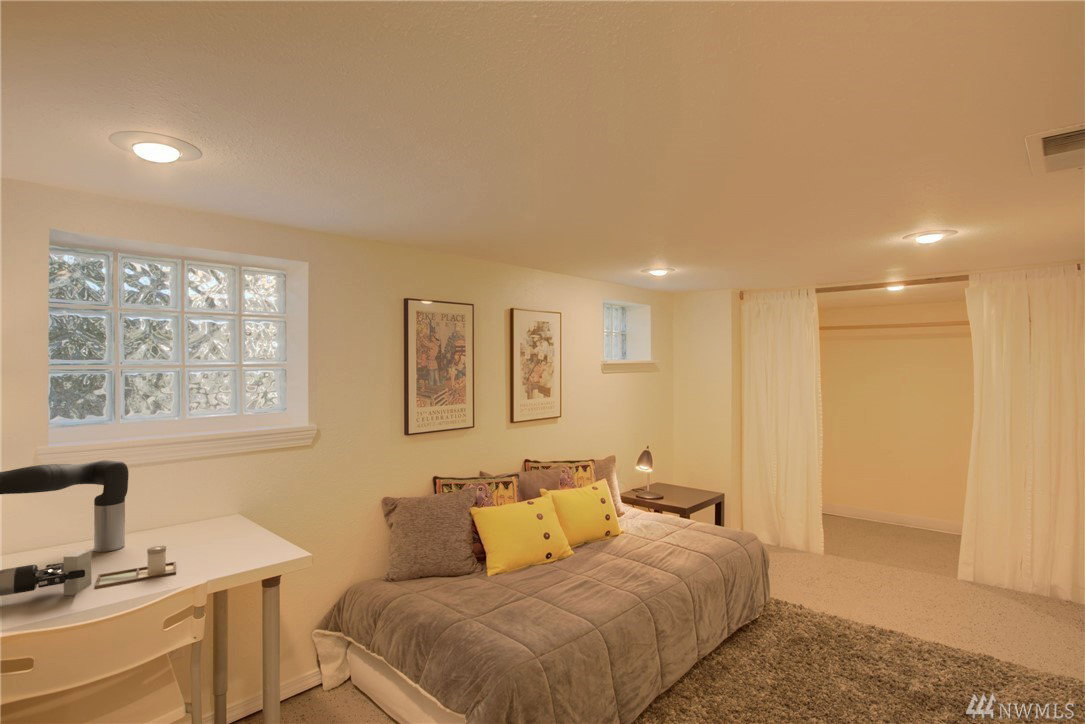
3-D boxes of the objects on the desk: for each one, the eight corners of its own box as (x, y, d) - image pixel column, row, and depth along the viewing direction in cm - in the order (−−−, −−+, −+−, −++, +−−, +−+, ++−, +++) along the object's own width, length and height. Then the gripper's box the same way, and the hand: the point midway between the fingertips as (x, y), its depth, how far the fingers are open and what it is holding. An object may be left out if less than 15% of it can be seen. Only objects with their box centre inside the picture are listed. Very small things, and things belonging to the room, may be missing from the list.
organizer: (98, 580, 181) (98, 574, 181) (175, 566, 193) (175, 561, 193) (94, 591, 172) (94, 586, 172) (175, 577, 184) (175, 571, 184)
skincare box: (77, 587, 175) (77, 549, 175) (91, 587, 176) (92, 549, 176) (62, 595, 169) (62, 556, 169) (77, 595, 170) (77, 556, 170)
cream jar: (147, 571, 186) (147, 547, 186) (166, 568, 189) (166, 544, 189) (146, 576, 182) (146, 552, 182) (166, 573, 185) (166, 549, 185)
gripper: (9, 576, 158) (83, 564, 168) (20, 560, 170) (89, 550, 180) (9, 602, 159) (83, 588, 168) (20, 584, 170) (89, 573, 180)
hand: (86, 568), depth 174 cm, fingers closed on skincare box, 7 cm apart
